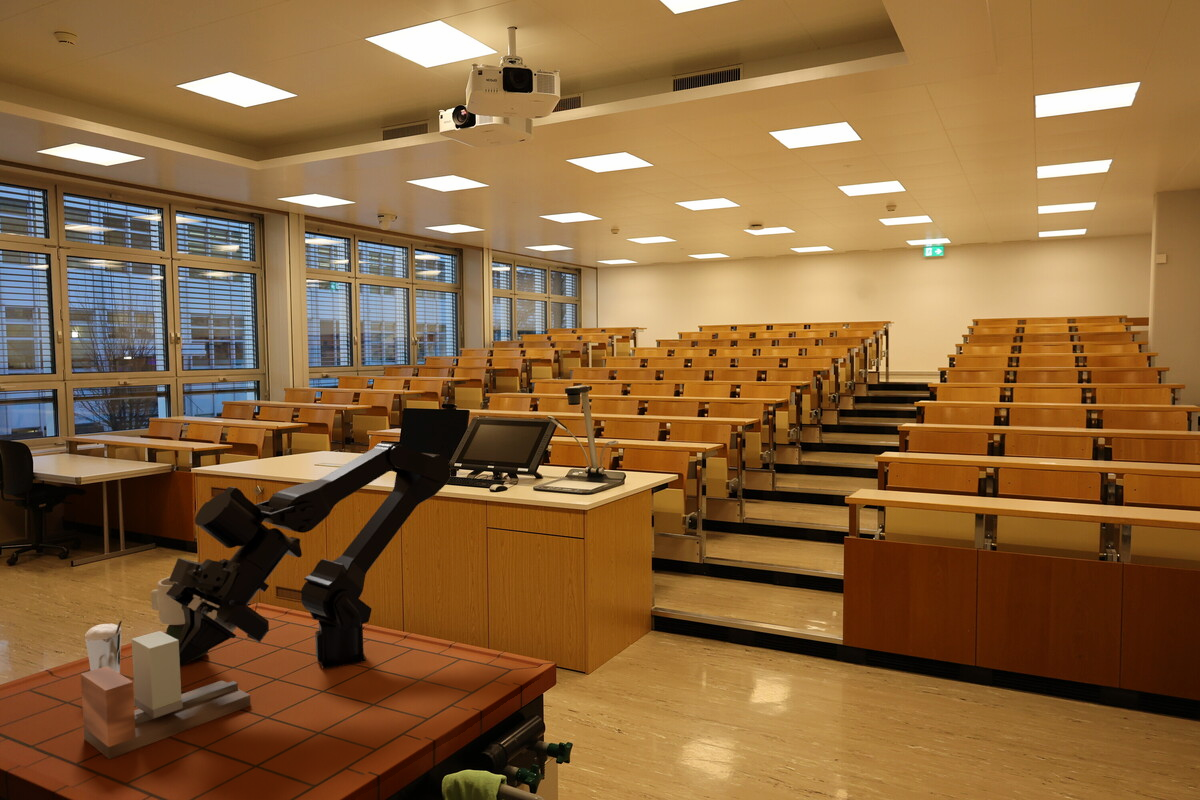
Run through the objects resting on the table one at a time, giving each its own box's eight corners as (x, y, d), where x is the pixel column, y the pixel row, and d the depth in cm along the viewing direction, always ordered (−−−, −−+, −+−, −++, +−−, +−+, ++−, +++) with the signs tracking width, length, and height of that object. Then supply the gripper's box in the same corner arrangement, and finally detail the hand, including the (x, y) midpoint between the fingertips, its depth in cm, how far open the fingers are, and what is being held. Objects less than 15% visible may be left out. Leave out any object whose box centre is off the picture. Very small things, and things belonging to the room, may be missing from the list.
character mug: (231, 651, 126) (228, 573, 125) (205, 669, 119) (201, 586, 118) (169, 649, 127) (165, 572, 127) (139, 667, 120) (135, 585, 119)
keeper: (162, 695, 104) (159, 630, 104) (182, 708, 101) (179, 640, 100) (134, 705, 101) (130, 638, 101) (154, 718, 98) (150, 648, 97)
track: (222, 690, 112) (219, 632, 111) (250, 705, 107) (248, 645, 106) (84, 739, 98) (80, 673, 97) (109, 759, 93) (105, 690, 92)
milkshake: (111, 694, 111) (107, 626, 110) (80, 691, 112) (76, 624, 111) (136, 681, 115) (133, 615, 114) (106, 678, 116) (102, 613, 116)
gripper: (178, 525, 111) (95, 621, 103) (243, 544, 100) (155, 654, 92) (234, 567, 118) (160, 660, 110) (301, 589, 106) (224, 695, 98)
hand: (172, 666), depth 102 cm, fingers closed, pressing on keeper
